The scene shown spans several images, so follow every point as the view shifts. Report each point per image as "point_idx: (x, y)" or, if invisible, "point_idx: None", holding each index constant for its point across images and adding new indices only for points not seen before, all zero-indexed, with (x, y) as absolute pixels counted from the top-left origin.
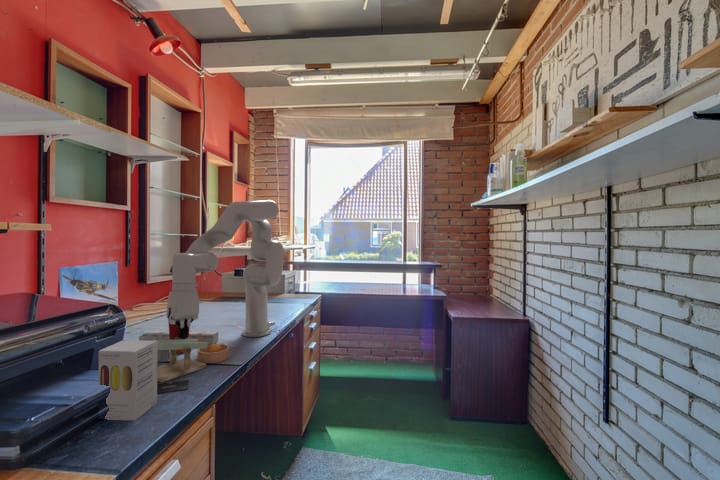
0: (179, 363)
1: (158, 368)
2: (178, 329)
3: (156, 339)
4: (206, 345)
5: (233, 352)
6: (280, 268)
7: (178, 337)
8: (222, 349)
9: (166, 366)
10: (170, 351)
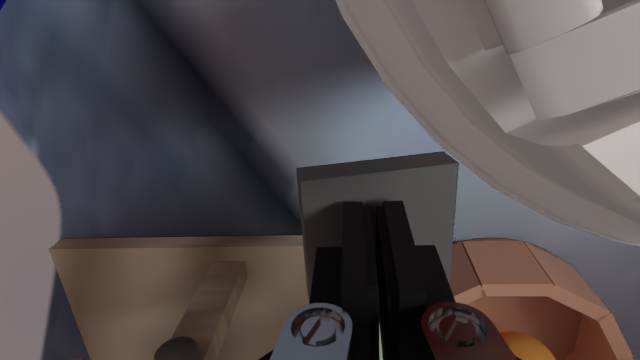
0: (257, 300)
1: (133, 278)
2: (310, 301)
3: None
4: None
5: (636, 334)
6: None
7: (336, 199)
8: (593, 327)
9: (179, 286)
10: (180, 330)
